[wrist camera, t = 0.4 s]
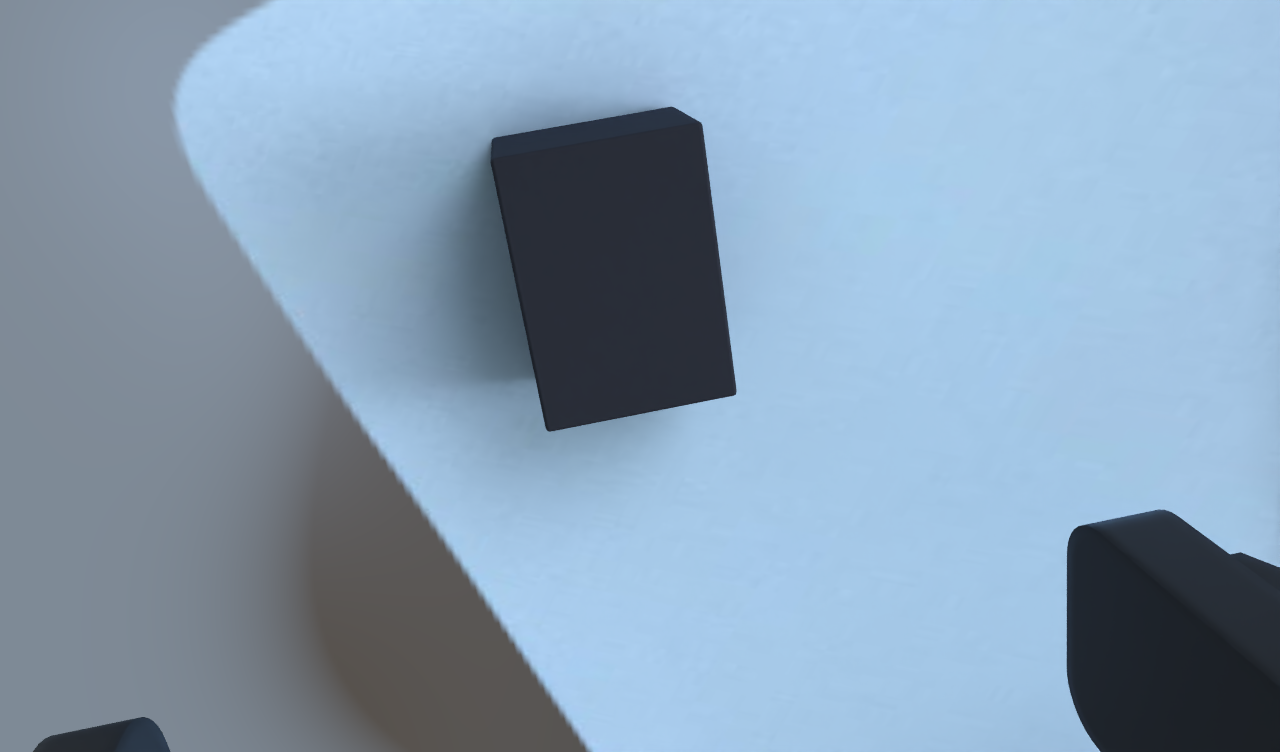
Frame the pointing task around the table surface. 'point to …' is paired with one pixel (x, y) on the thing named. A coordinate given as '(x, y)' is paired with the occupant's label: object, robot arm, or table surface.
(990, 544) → the table surface
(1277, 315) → the table surface
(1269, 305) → the table surface
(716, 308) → the black box
